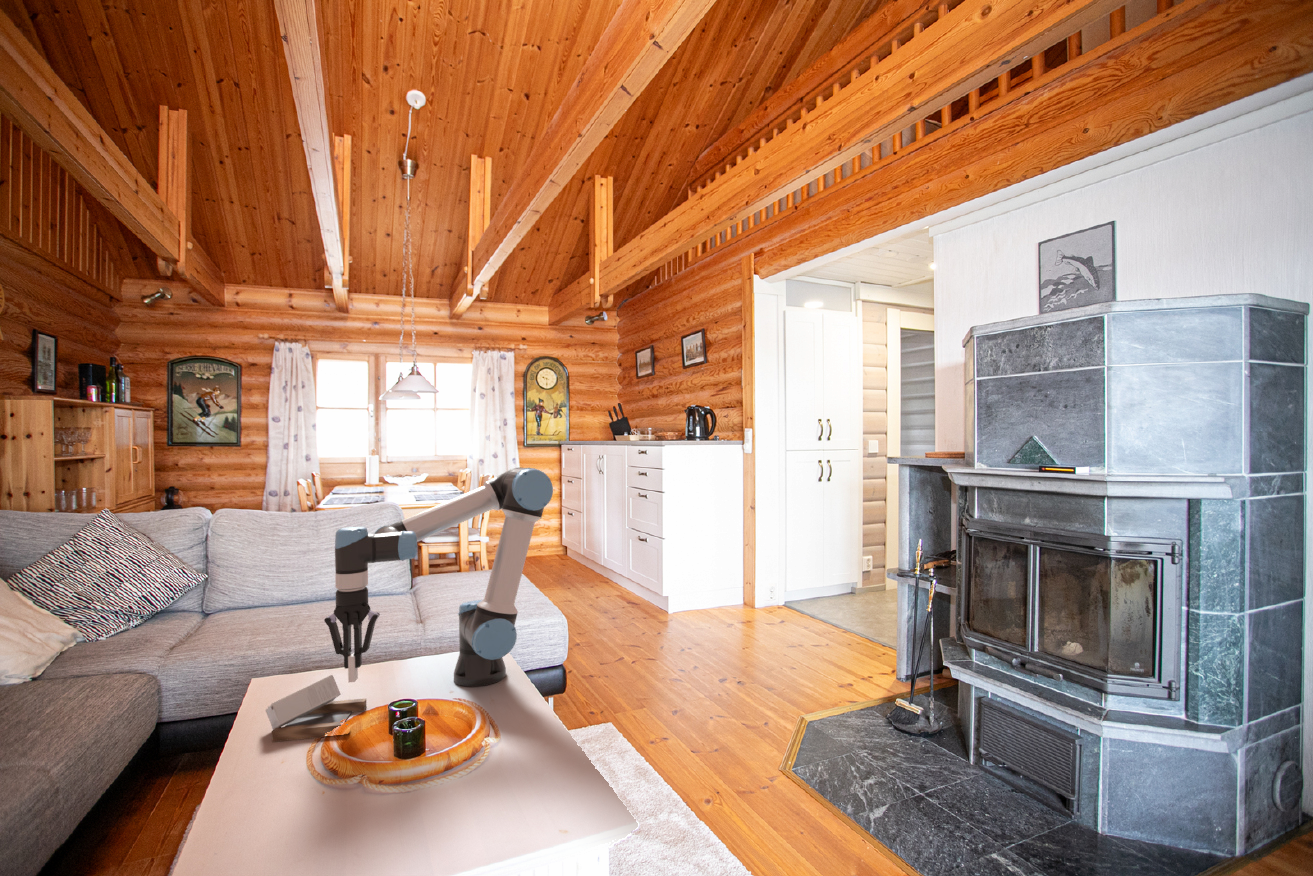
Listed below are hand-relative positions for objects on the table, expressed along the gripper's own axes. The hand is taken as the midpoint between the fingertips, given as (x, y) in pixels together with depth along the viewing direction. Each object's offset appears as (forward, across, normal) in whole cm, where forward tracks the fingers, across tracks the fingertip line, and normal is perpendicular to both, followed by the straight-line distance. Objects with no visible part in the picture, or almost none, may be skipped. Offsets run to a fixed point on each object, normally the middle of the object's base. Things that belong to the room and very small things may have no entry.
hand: (353, 680), depth 160 cm
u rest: (+10, +8, 0) cm, 13 cm away
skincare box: (+3, +6, -5) cm, 9 cm away
